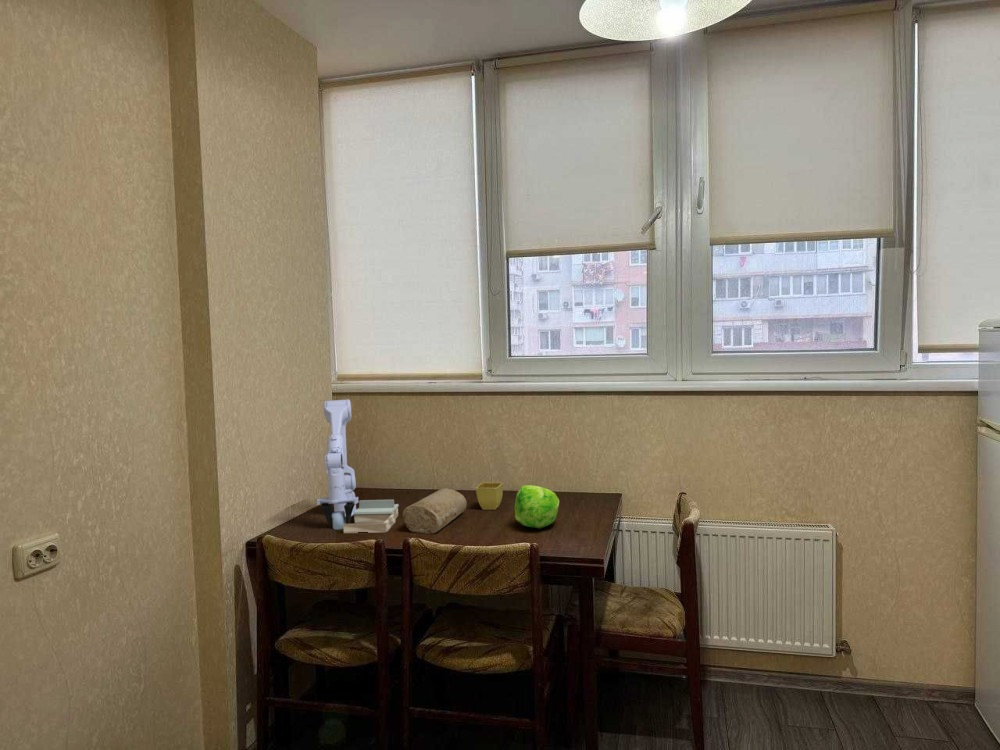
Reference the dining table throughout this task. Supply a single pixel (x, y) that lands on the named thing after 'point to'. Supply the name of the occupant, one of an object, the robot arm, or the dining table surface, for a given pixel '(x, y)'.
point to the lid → (376, 507)
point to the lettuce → (536, 506)
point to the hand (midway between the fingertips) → (339, 523)
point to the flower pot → (489, 495)
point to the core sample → (434, 511)
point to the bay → (371, 523)
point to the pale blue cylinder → (338, 519)
